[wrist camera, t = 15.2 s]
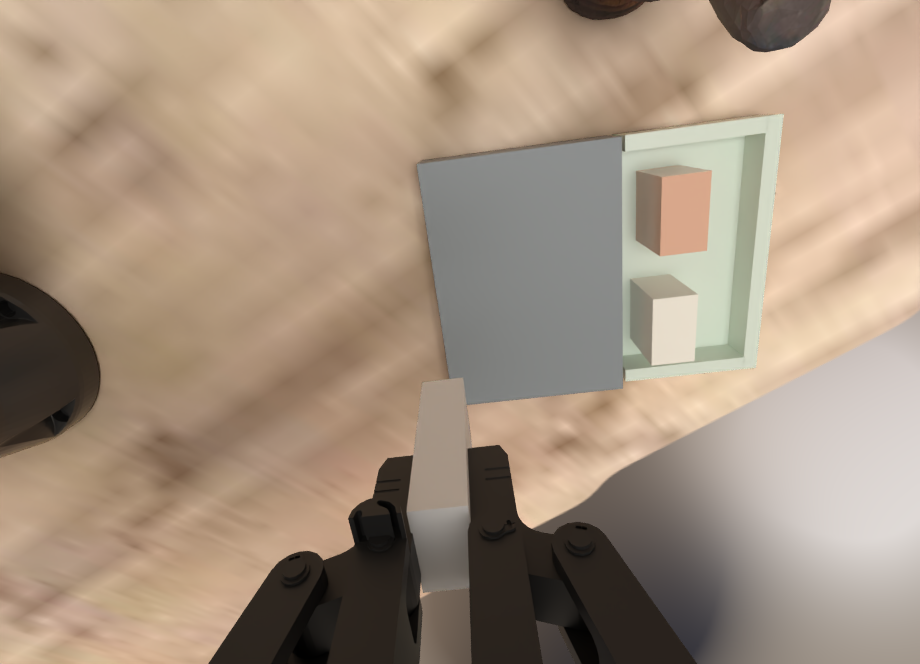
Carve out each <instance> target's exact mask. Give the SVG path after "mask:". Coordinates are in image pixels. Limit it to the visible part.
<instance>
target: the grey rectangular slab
mask: <svg viewBox="0 0 920 664" xmlns="http://www.w3.org/2000/svg"><path fill="white" fill-rule="evenodd" d="M417 170H418V177H419V183H420V190H421V196H422V203H423V209H424V216H425V222H426V229H427V235H428V242H429V248H430V255H431V261H432V268H433V274H434V281H435V288H436V294H437V301H438V307H439V314H440V320H441V327H442V333H443V340H444V346H445V353H446V359H447V366H448V372H449V379H454V378H463V381H464V388H465V396H466V403H467V405H471V404H481V403H490V402H500V401H509V400H518V399H528V398H537V397H547V396H556V395H566V394H575V393H585V392H594V391H603V390H613V389H622V388H623V301H622V137H621V136H599V137H591V138H584V139H577V140H569V141H562V142H554V143H547V144H540V145H532V146H525V147H518V148H510V149H503V150H495V151H488V152H481V153H473V154H466V155H459V156H451V157H444V158H436V159H429V160H422V161H420V162H419V163H418V164H417Z"/></svg>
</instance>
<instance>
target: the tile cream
mask: <svg viewBox="0 0 920 664" xmlns="http://www.w3.org/2000/svg"><path fill="white" fill-rule="evenodd" d="M697 309H698V294H697V293H696V292H694V291H693V290H692V289H690V288H689V287H687V286H686V285H685V284H683V283H682V282H680V281H679V280H678V279H676V278H675V277H673V276H672V275H671V274H666V275H658V276H649V277H641V278H632V279H630V339H631V340H632V341H633V342H634V344H635V345H636V346H637V348H638V349H639V350H640V351H641V353H642V354H643V355H644V357H645V358H646V359H647V360H648V362H649V363H650V364H651V366H653V365H663V364H672V363H681V362H690V361H695V343H696V326H697Z"/></svg>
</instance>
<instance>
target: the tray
mask: <svg viewBox="0 0 920 664" xmlns="http://www.w3.org/2000/svg"><path fill="white" fill-rule="evenodd" d="M783 116H784V114H767V115H753V116H746V117H739V118H731V119H724V120H717V121H709V122H702V123H694V124H687V125H680V126H672V127H665V128H658V129H650V130H643V131H635V132H628V133H621V134H613V135H612V136H621V137H622V301H623V378H624V380H625V381H635V380H645V379H654V378H663V377H673V376H682V375H691V374H701V373H710V372H720V371H729V370H738V369H748V368H756V362H757V353H758V344H759V335H760V326H761V317H762V308H763V298H764V289H765V280H766V271H767V262H768V253H769V244H770V235H771V225H772V216H773V207H774V198H775V189H776V180H777V171H778V162H779V153H780V143H781V134H782V125H783ZM674 165H683V166H689V167H694V168H700V169H706V170H712V177H711V194H710V210H709V227H708V243H707V251H701V252H692V253H684V254H676V255H668V256H659V255H657V254H656V253H654V252H653V251H651V250H650V249H648V248H647V247H645V246H644V245H642V244H641V243H639V242H638V241H636V171H637V170H644V169H652V168H659V167H667V166H674ZM666 274H671V275H672V276H673V277H675V278H676V279H678V280H679V281H680V282H682V283H683V284H685V285H686V286H687V287H689V288H690V289H692V290H693V291H694V292H696V293H697V294H698V309H697V326H696V343H695V361H690V362H681V363H672V364H663V365H653V366H651V364H650V363H649V362H648V360H647V359H646V358H645V357H644V355H643V354H642V353H641V351H640V350H639V349H638V348H637V346H636V345H635V344H634V342H633V341H632V340H631V339H630V279H632V278H641V277H649V276H658V275H666Z"/></svg>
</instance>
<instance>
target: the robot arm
mask: <svg viewBox="0 0 920 664" xmlns="http://www.w3.org/2000/svg"><path fill="white" fill-rule="evenodd" d="M98 388H99V370H98V364H97V360H96V357H95V354H94V351H93V349H92V347H91V345H90V343H89V341H88V339H87V337H86V335H85V334H84V332H83V331H82V329H81V328H80V327H79V325H78V324H77V323H76V321H75V320H74V319H73V318H72V317H71V316H70V315H69V314H68V313H67V311H65V310H64V309H63V308H62V307H61V306H60V305H59V304H58V303H57V302H55V301H54V300H53V299H52V298H50V297H49V296H47V295H46V294H45V293H43V292H42V291H40V290H38V289H37V288H35V287H33V286H31V285H29V284H27V283H25V282H23V281H21V280H19V279H16V278H13V277H11V276H8V275H4V274H1V273H0V458H1V457H4V456H7V455H10V454H13V453H16V452H18V451H21V450H24V449H27V448H30V447H33V446H36V445H39V444H42V443H45V442H47V441H49V440H51V439H53V438H55V437H57V436H59V435H60V434H62V433H63V432H65V431H66V430H67V429H69V428H70V427H71V426H73V425H74V424H75V423H77V422H78V421H79V420H81V419H82V418H83V417H84V416H85V415H86V414H87V413H88V412H89V410H90V409H91V407H92V406H93V404H94V402H95V399H96V396H97V393H98ZM376 482H377V484H376V486H375V490H374V495H373V498H372V499H368V500H366V501H364V502H362V503H360V504H359V505H358V506H357V507H356V508H354V509H353V510H352V512H351V514H350V516H349V518H348V520H349V524H350V527H351V531H352V535H353V539H354V542H355V545H354V547H352V548H351V549H349V550H348V551H346V552H344V553H342V554H340V555H337V556H334V557H331V558H329V559H326V560H322V558H321V557H320V556H319V555H318V554H317V553H314V552H311V551H303V552H297V553H294V554H292V555H289V556H287V557H286V558H284V559H283V560H281V561H280V562H279V563H278V564H277V565H276V566H275V567H274V568H273V569H272V570H271V572H270V573H269V575H268V576H267V578H266V579H265V581H264V582H263V584H262V585H261V587H260V588H259V590H258V591H257V592H256V594H255V595H254V597H253V598H252V600H251V601H250V603H249V604H248V606H247V607H246V609H245V610H244V612H243V613H242V615H241V616H240V618H239V619H238V621H237V622H236V624H235V625H234V627H233V628H232V629H231V631H230V632H229V634H228V635H227V637H226V638H225V640H224V641H223V643H222V644H221V646H220V647H219V649H218V650H217V652H216V653H215V655H214V656H213V658H212V659H211V661H210V662H209V664H419V660H420V644H421V627H422V606H421V601H420V584H421V585H422V590H423V593H424V592H435V591H445V590H455V589H465V588H469V591H470V624H471V654H472V664H543V663H542V656H541V650H540V644H539V638H538V632H537V625H536V620H537V621H541V622H546V623H550V624H555V625H558V628H559V631H560V633H561V635H562V637H563V639H564V641H565V643H566V645H567V648H568V649H569V652H570V654H571V656H572V658H573V660H574V662H575V664H697V663H696V662H695V660H694V659H693V658H692V656H691V655H690V653H689V652H688V650H687V649H686V648H685V646H684V645H683V643H682V642H681V641H680V639H679V638H678V636H677V635H676V634H675V632H674V631H673V629H672V628H671V627H670V625H669V624H668V623H667V621H666V619H665V618H664V617H663V615H662V614H661V612H660V611H659V610H658V608H657V607H656V605H655V604H654V603H653V601H652V600H651V598H650V597H649V596H648V594H647V593H646V591H645V590H644V589H643V587H642V586H641V584H640V583H639V582H638V580H637V579H636V577H635V576H634V575H633V573H632V572H631V570H630V569H629V568H628V566H627V565H626V563H625V562H624V561H623V559H622V558H621V556H620V555H619V553H618V552H617V551H616V549H615V548H614V546H613V545H612V544H611V542H610V541H609V539H608V538H607V537H606V535H605V534H604V533H603V532H602V531H601V530H600V529H598V528H597V527H594V526H592V525H590V524H586V523H581V522H574V523H567V524H565V525H563V526H561V527H559V528H558V529H557V530H556V532H555V533H554V534H548V533H542V532H539V531H535V530H533V529H531V528H529V527H527V526H526V525H525V524H524V523H522V521H521V520H520V518H519V517H518V514H517V510H516V503H515V497H514V491H513V485H512V479H511V473H510V467H509V461H508V455H507V453H506V452H505V451H504V450H503V449H502V448H501V447H500V445H495V446H486V447H477V448H472V442H471V433H470V426H469V418H468V411H467V403H466V396H465V388H464V381H463V378H454V379H445V380H437V381H428V382H422V388H421V396H420V404H419V413H418V421H417V429H416V437H415V445H414V454H413V456H403V457H394V458H388V459H387V460H386V461H385V462H384V464H383V465H382V466H381V468H380V469H379V472H378V476H377V481H376Z"/></svg>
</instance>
